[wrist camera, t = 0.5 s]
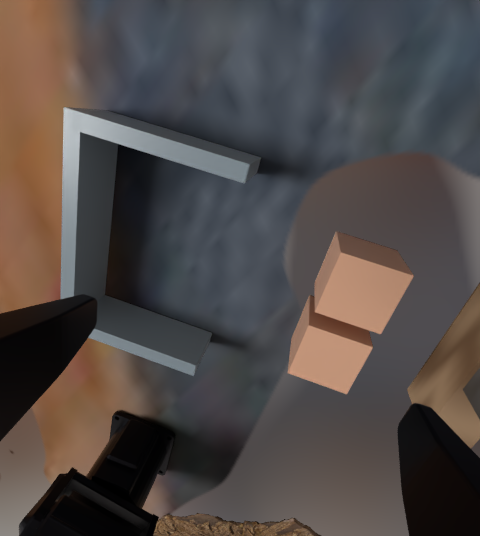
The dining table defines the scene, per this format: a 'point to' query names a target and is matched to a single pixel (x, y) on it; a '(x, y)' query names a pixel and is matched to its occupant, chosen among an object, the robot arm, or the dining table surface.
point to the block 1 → (360, 282)
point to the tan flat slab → (227, 527)
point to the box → (99, 226)
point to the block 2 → (327, 349)
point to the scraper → (455, 374)
